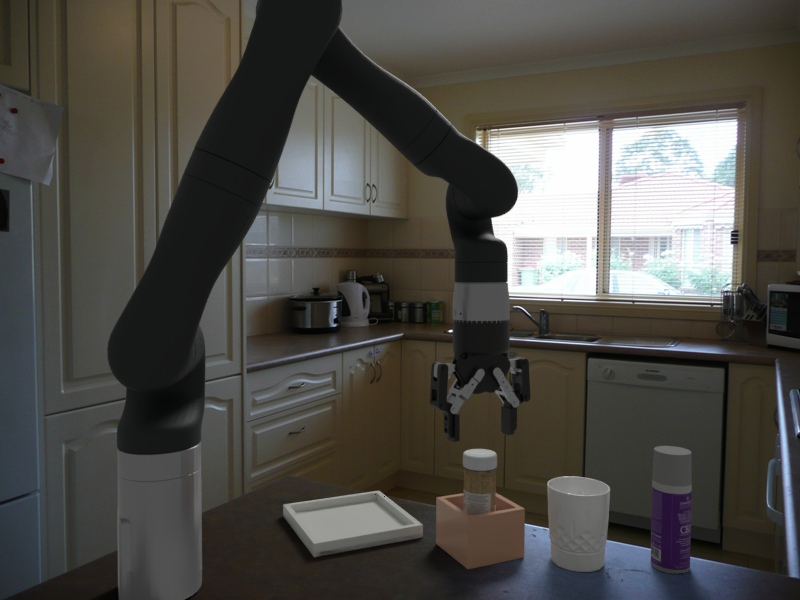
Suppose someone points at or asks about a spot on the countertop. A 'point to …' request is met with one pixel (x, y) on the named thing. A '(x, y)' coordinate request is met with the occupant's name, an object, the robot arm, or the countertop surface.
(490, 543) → the pot
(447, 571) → the countertop surface
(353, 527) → the tray
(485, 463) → the sprinkles bottle
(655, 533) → the container
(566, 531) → the white cup
